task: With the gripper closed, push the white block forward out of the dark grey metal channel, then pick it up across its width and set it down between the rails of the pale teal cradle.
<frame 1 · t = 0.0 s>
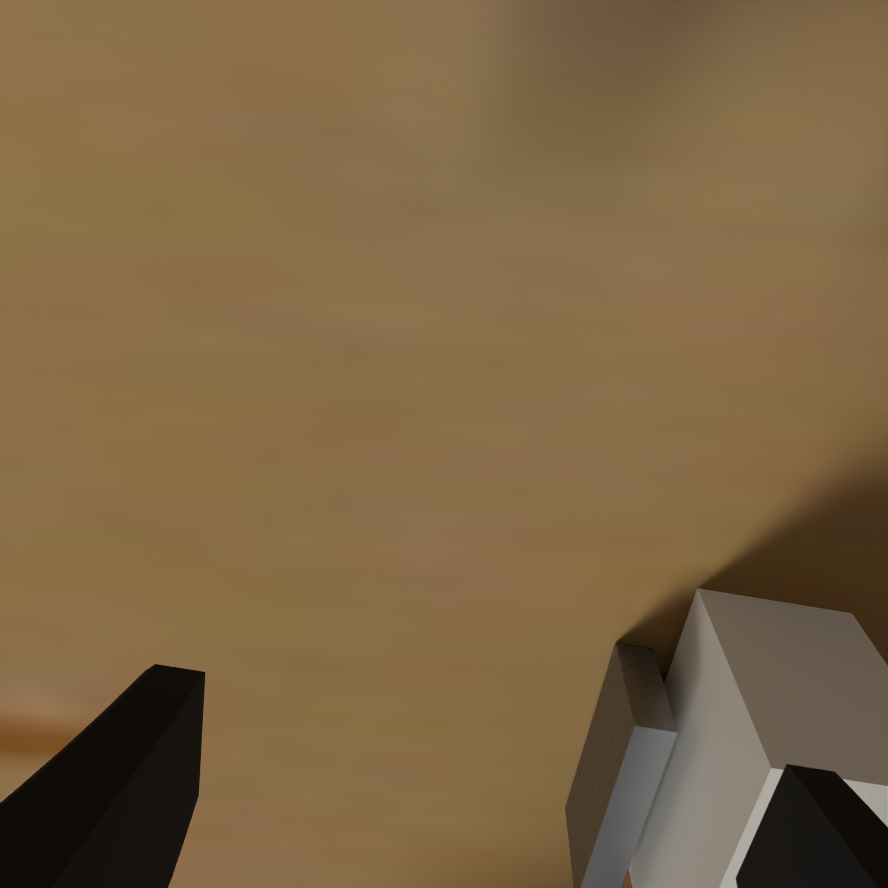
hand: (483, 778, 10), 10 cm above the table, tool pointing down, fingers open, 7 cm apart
white block: (726, 719, 23), on the table
channel: (716, 750, 23), on the table
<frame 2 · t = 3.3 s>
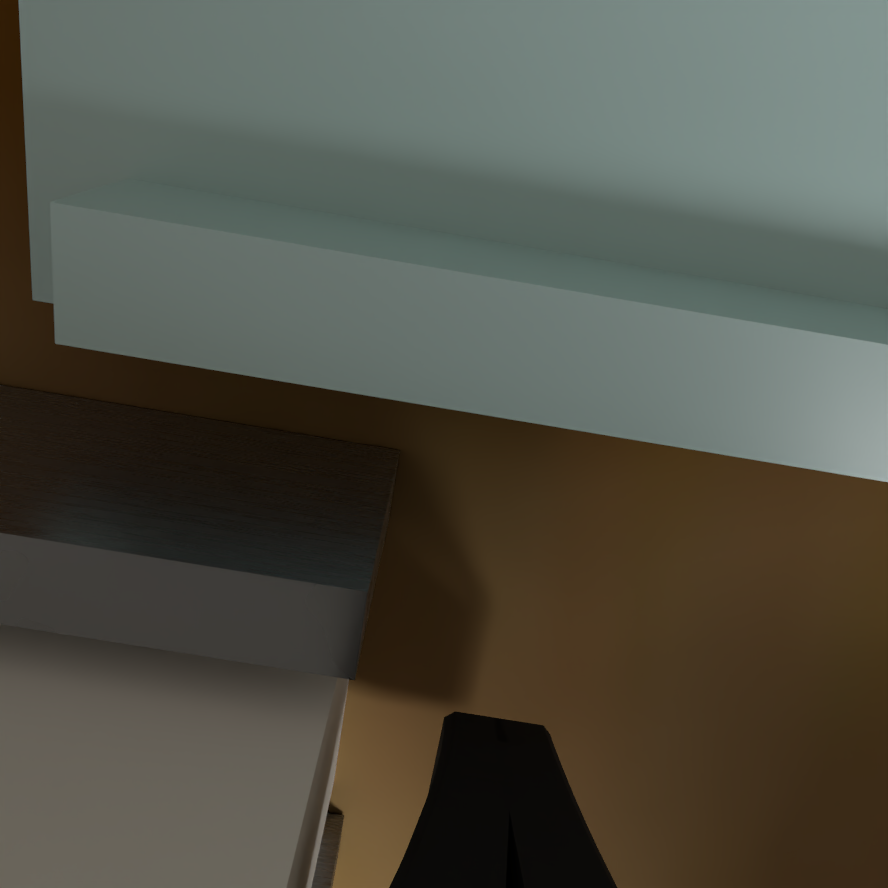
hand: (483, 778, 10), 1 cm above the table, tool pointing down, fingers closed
white block: (63, 631, 11), on the table, touching gripper
channel: (149, 648, 11), on the table
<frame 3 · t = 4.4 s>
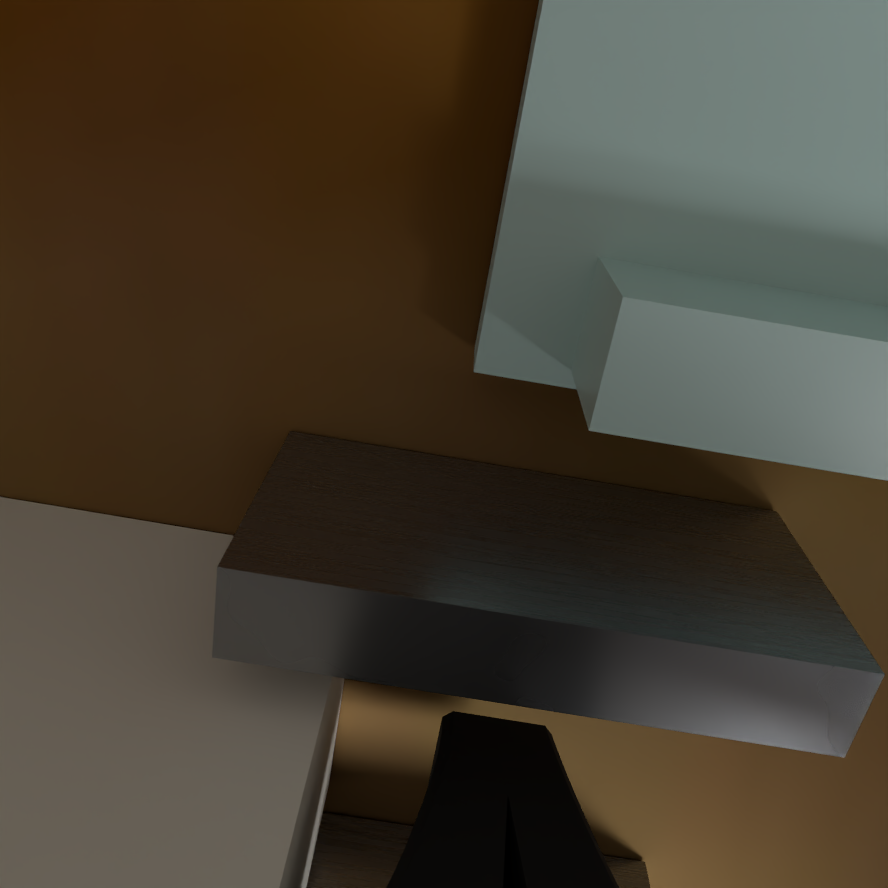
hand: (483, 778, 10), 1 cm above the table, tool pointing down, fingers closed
white block: (56, 631, 11), on the table, touching gripper
channel: (482, 700, 12), on the table
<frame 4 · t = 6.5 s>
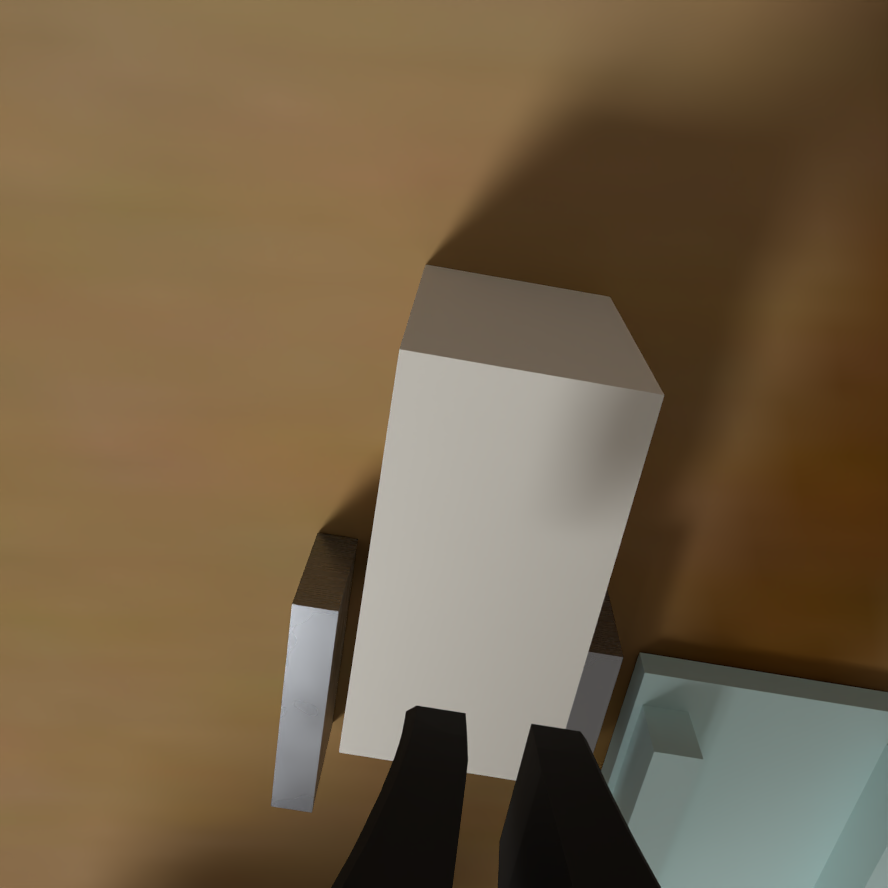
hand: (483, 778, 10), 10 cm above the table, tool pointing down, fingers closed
white block: (483, 446, 19), on the table
cradle: (721, 838, 24), on the table
channel: (442, 652, 22), on the table
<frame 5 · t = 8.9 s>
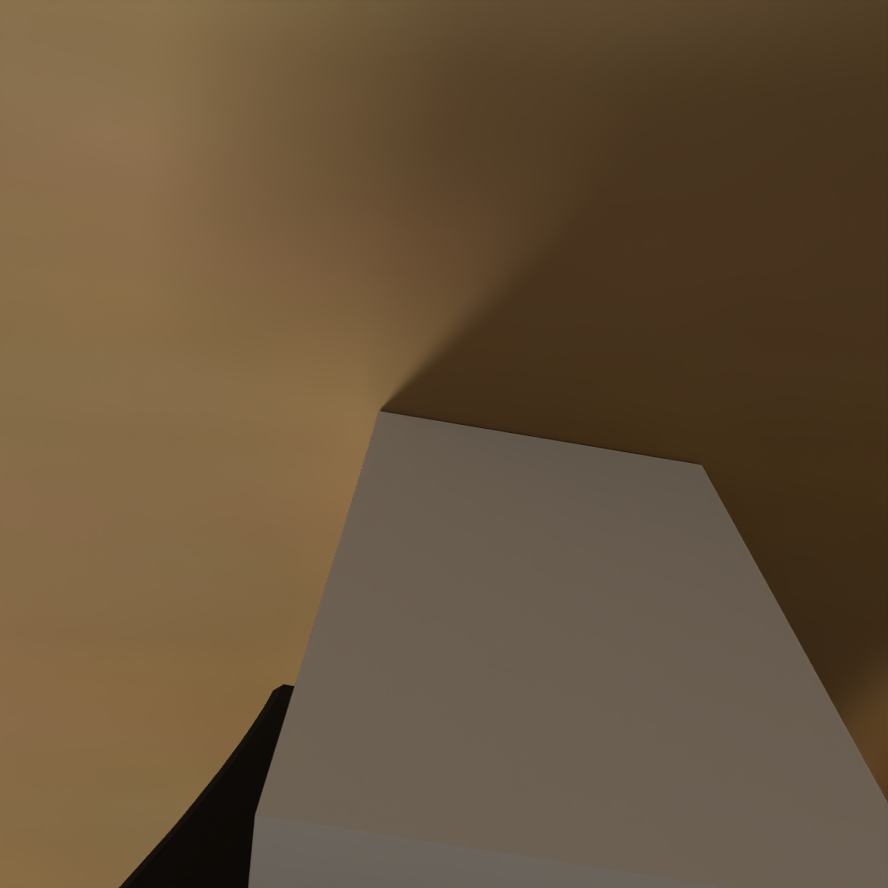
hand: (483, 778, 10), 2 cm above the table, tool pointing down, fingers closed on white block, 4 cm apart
white block: (482, 692, 12), on the table, touching gripper
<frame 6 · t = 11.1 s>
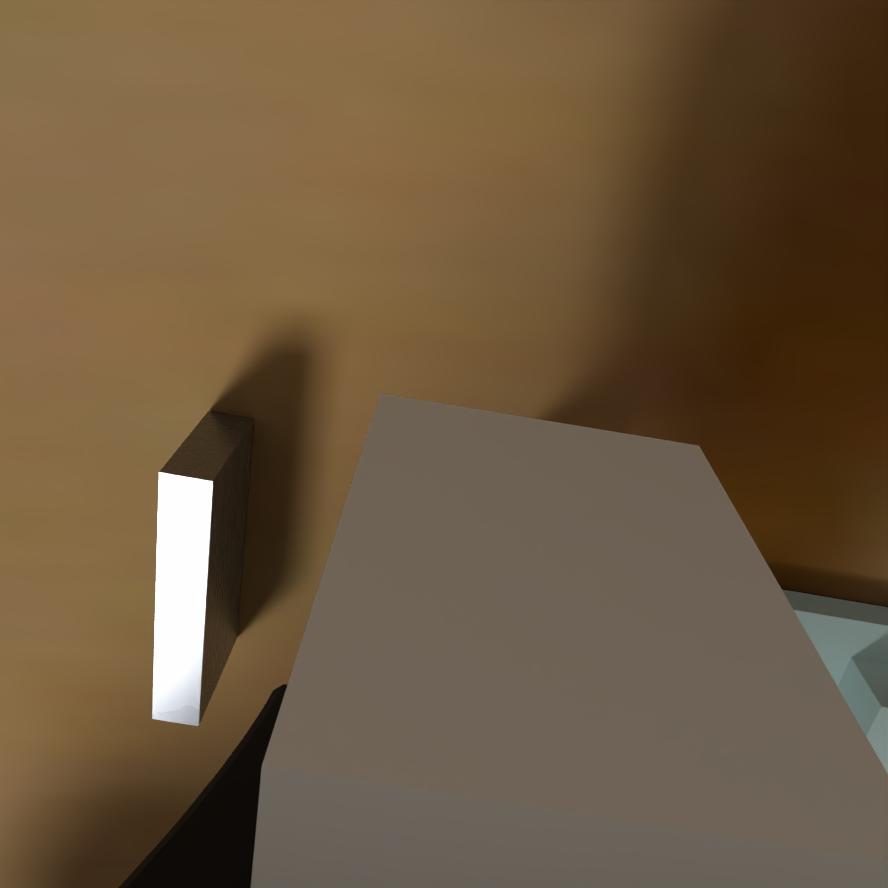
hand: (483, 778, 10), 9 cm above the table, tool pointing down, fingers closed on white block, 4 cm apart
white block: (483, 673, 12), point 7 cm above the table, touching gripper
cradle: (671, 772, 22), on the table
channel: (355, 554, 19), on the table
when the fingers open (4 cm above the table, at t = 13.6 s): white block drops 1 cm, resting on cradle.
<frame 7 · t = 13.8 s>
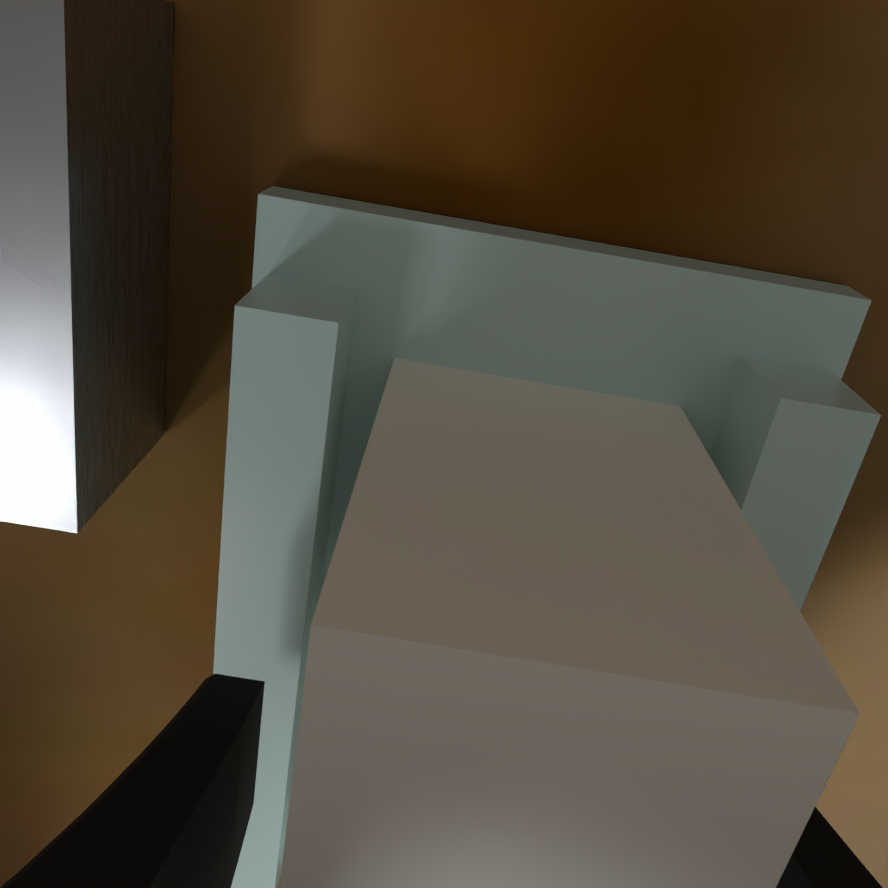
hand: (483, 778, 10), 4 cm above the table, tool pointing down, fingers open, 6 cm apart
white block: (484, 618, 13), point 1 cm above the table, touching cradle
cradle: (483, 596, 14), on the table
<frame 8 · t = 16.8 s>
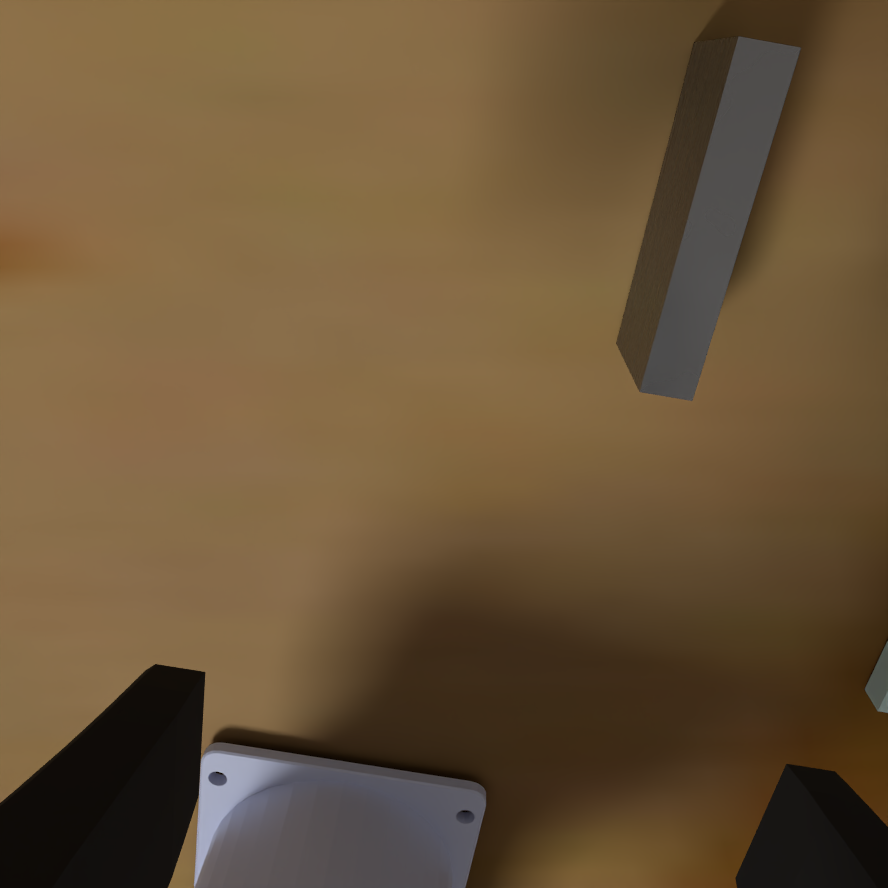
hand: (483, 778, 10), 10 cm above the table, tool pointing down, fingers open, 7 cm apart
channel: (824, 234, 17), on the table
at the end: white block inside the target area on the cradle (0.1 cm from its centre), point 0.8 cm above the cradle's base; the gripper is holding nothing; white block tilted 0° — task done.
